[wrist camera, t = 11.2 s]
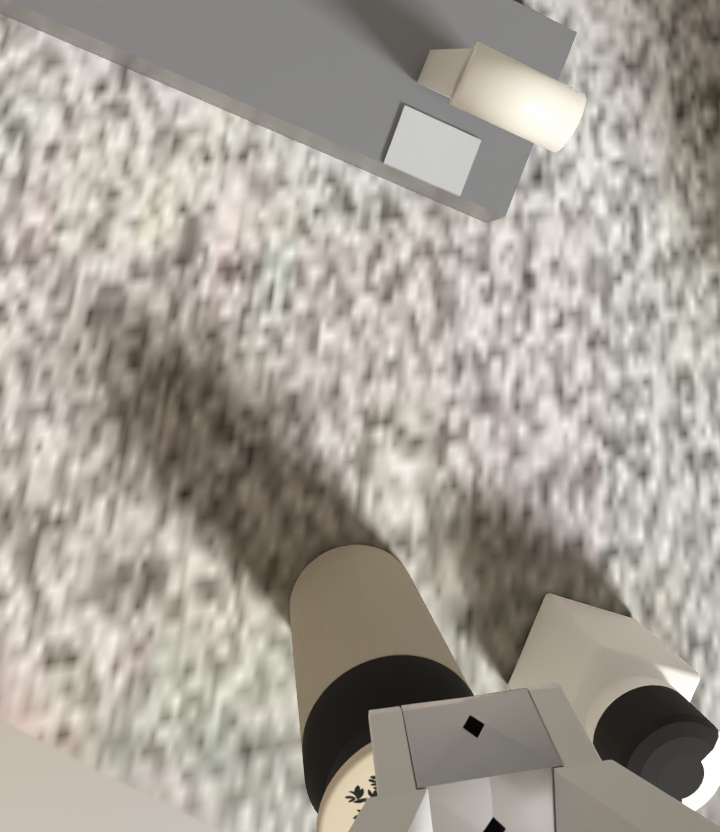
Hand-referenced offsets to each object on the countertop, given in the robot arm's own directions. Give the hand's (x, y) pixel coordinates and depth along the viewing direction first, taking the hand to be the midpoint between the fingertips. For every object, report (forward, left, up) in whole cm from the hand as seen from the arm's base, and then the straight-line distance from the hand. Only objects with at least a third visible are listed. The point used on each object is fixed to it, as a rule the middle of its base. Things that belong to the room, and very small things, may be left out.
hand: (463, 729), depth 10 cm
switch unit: (-2, -20, -30) cm, 36 cm away
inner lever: (-10, -16, -26) cm, 32 cm away
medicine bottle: (-14, +20, -30) cm, 38 cm away
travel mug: (0, +12, -30) cm, 32 cm away
